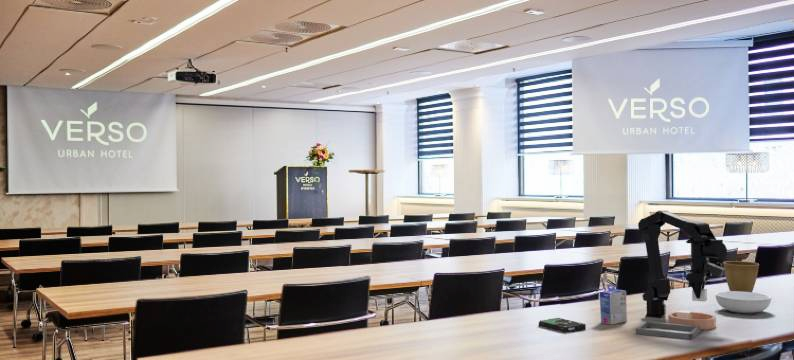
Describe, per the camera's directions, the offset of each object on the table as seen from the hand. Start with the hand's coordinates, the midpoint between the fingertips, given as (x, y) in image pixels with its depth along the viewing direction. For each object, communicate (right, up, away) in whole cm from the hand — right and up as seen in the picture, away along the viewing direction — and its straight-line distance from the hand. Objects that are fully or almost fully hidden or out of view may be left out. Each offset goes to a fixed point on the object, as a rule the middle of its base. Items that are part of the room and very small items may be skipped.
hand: (699, 297), depth 273 cm
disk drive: (-52, -12, -1) cm, 53 cm away
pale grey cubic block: (0, -1, 0) cm, 1 cm away
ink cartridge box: (-30, -11, +8) cm, 33 cm away
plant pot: (+45, -10, +62) cm, 77 cm away
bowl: (-2, -11, +1) cm, 11 cm away
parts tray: (-16, -11, -11) cm, 22 cm away
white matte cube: (-5, -10, +3) cm, 11 cm away
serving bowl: (+30, -11, +28) cm, 42 cm away
